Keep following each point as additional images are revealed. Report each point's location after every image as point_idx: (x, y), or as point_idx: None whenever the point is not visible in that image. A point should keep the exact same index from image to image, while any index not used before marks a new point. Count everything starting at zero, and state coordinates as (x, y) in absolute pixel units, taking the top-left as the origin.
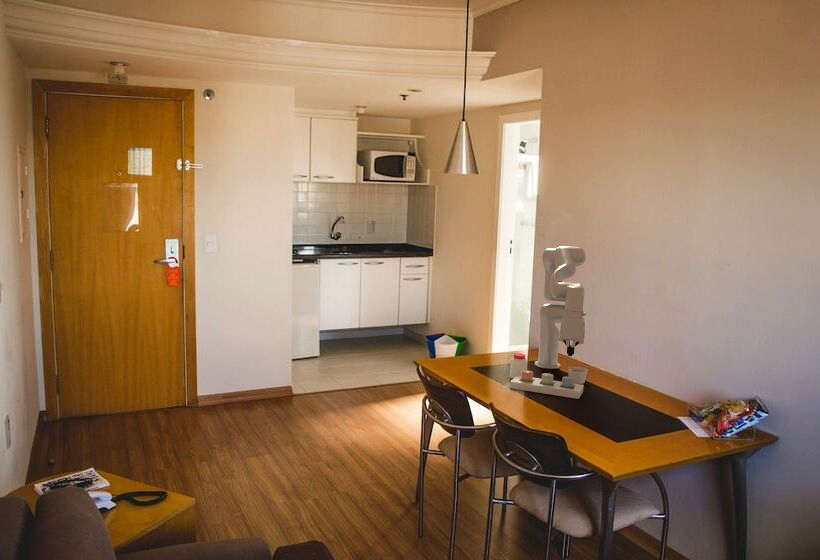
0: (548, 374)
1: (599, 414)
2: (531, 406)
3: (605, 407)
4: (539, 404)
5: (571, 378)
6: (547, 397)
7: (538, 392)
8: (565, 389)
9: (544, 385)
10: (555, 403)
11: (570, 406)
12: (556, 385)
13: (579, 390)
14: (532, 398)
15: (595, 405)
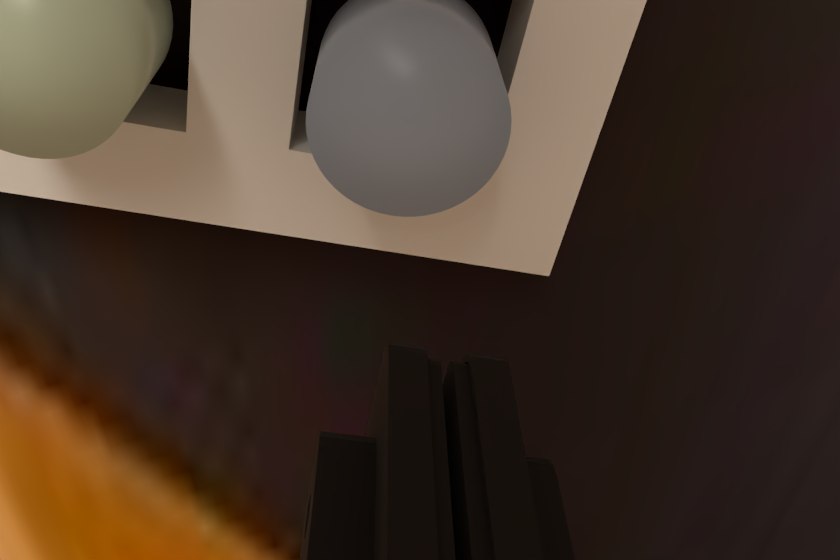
0: (26, 22)
1: (648, 541)
2: (99, 539)
3: (760, 388)
4: (151, 485)
5: (463, 139)
6: (183, 287)
7: None
8: (374, 229)
9: None
10: (287, 425)
11: None
12: (237, 83)
13: (560, 209)
14: (42, 364)
15: (675, 366)
